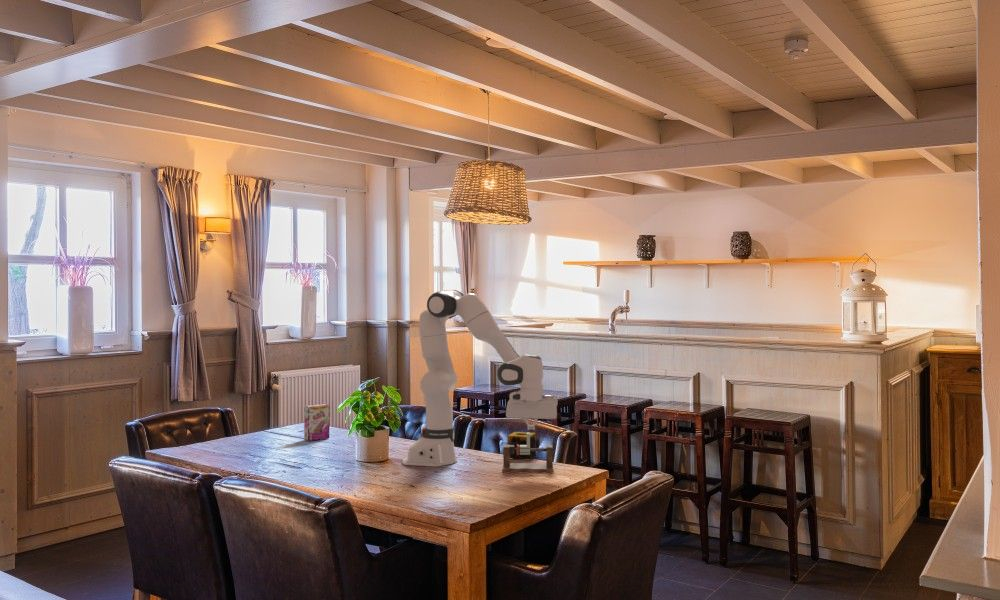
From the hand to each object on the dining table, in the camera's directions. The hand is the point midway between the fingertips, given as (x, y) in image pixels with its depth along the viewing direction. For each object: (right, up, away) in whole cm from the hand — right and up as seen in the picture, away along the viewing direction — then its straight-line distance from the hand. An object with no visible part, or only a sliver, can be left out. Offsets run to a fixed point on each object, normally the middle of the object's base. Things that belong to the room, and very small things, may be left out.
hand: (531, 429), depth 317 cm
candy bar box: (-100, -15, +65) cm, 120 cm away
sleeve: (-2, -10, 0) cm, 10 cm away
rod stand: (-1, -16, 0) cm, 16 cm away
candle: (-3, -16, +23) cm, 28 cm away
